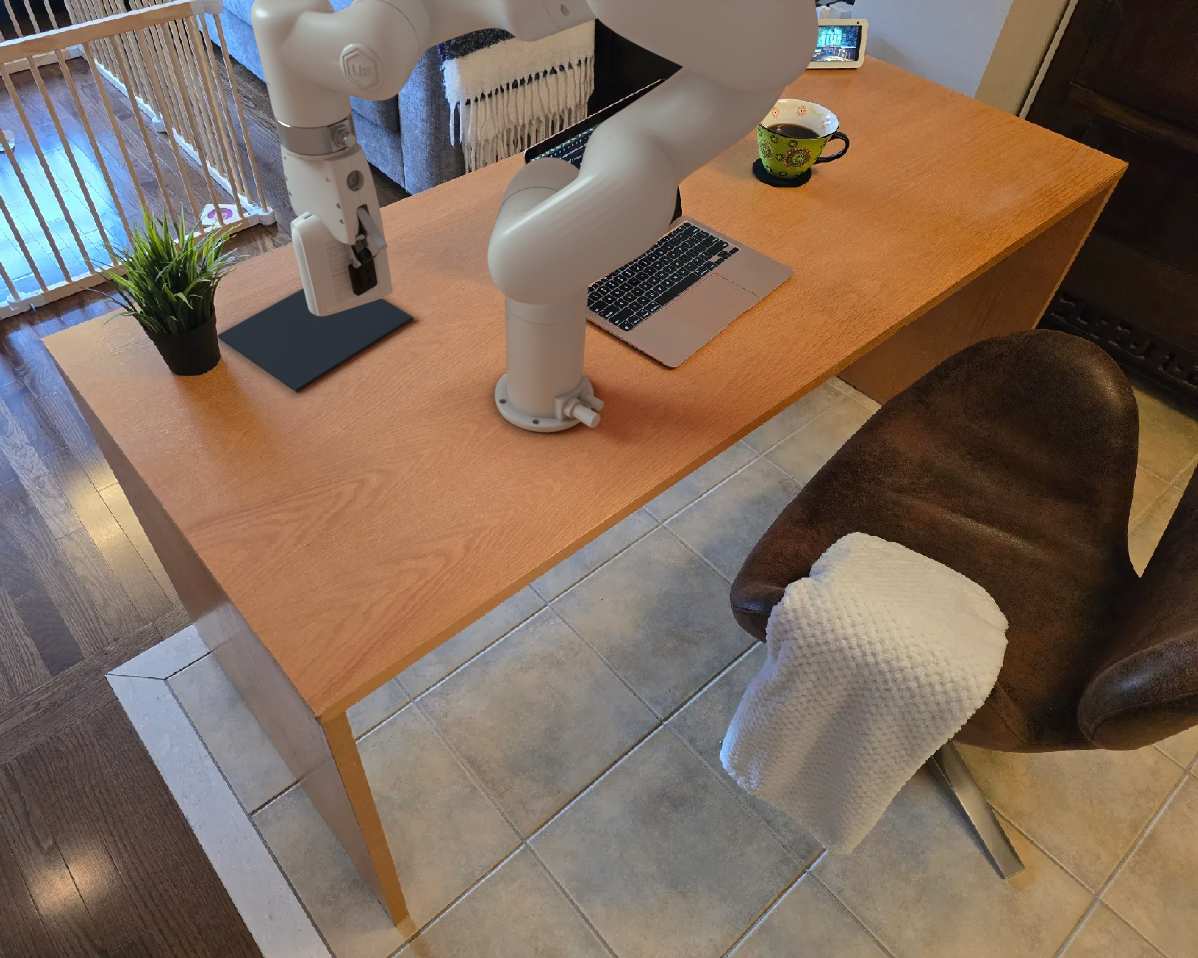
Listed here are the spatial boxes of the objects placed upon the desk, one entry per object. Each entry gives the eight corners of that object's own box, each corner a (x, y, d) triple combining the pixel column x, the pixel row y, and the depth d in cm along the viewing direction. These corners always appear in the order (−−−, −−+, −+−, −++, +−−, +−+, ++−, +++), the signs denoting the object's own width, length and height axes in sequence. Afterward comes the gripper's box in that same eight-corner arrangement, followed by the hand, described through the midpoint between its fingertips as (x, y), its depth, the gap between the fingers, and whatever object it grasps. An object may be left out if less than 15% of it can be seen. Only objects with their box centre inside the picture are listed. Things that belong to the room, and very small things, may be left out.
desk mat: (413, 320, 121) (412, 316, 121) (296, 392, 110) (295, 389, 110) (336, 273, 127) (335, 270, 127) (218, 338, 116) (217, 334, 116)
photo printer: (384, 277, 107) (368, 184, 97) (399, 295, 104) (384, 202, 95) (303, 303, 102) (278, 209, 93) (317, 323, 100) (293, 228, 91)
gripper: (403, 143, 87) (423, 294, 100) (291, 90, 93) (323, 238, 107) (345, 172, 83) (374, 325, 96) (231, 114, 89) (273, 265, 103)
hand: (347, 278), depth 101 cm, fingers closed on photo printer, 5 cm apart
